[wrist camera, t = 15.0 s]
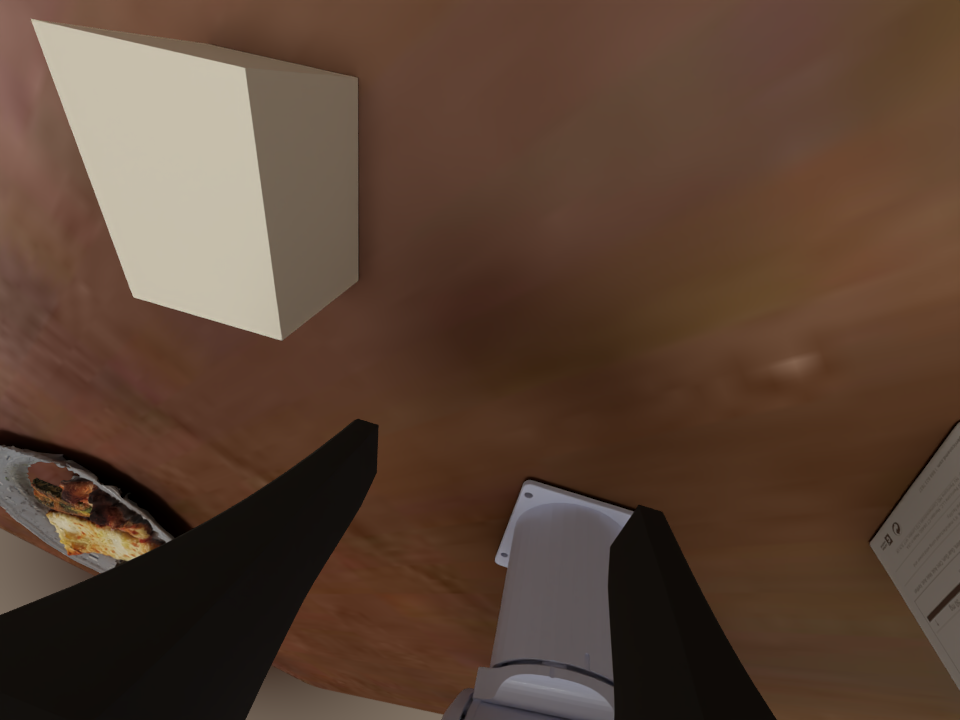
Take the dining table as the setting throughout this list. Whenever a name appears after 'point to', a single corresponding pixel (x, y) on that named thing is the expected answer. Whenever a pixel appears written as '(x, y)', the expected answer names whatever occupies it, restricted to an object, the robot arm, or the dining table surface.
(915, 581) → the supplement box
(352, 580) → the dining table surface
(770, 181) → the dining table surface
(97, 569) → the food plate
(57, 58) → the cream rectangular block
